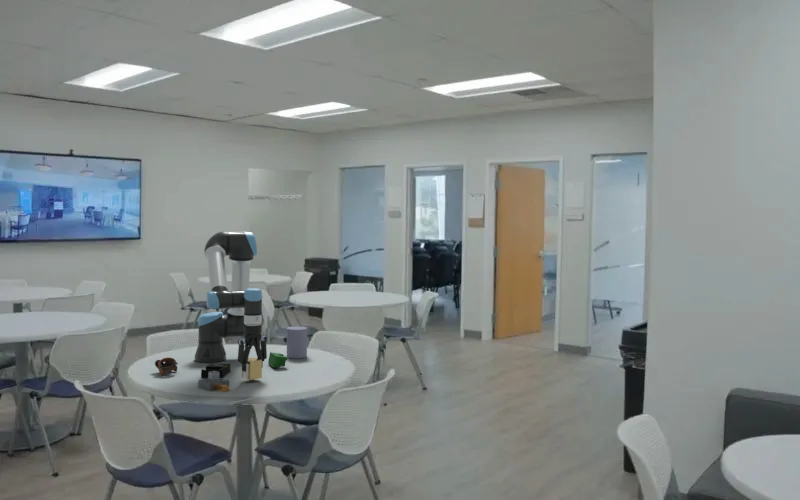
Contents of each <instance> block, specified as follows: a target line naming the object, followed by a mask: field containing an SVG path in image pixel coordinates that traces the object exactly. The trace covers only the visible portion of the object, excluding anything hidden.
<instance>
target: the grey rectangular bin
mask: <svg viewBox="0 0 800 500" xmlns="http://www.w3.org/2000/svg"><path fill="white" fill-rule="evenodd" d="M197 387H198V388H199V389H203V390H205V391H207V392H213V391H219V392H221V393H222V392H223V393H224V392H229V391H230V380H229V379H227V378H224V377H223V378H220V377H219V372H218V371H211V372H208V378H202V379H198V386H197Z"/></svg>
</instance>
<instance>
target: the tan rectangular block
mask: <svg viewBox="0 0 800 500" xmlns="http://www.w3.org/2000/svg"><path fill="white" fill-rule="evenodd" d="M247 364H248V379H247V380H248V381H253V380H254V381H255V380H258V379H262V378H263V375H262V374H263V367H262V360H261V359H258V358H257V357H253V356H252V357H248V360H247ZM241 378H242V379H244V378H243V371H242V370H241Z"/></svg>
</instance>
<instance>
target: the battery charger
mask: <svg viewBox="0 0 800 500" xmlns="http://www.w3.org/2000/svg"><path fill="white" fill-rule="evenodd" d="M211 371H218V372H219V377H220V378H223V379H224V378H225V377H226V376H227V375H229V373H231V363H209V364H208V365H206V366H205V369H204V368H203V369H201V371H200V378H202V379H208V372H211Z"/></svg>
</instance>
